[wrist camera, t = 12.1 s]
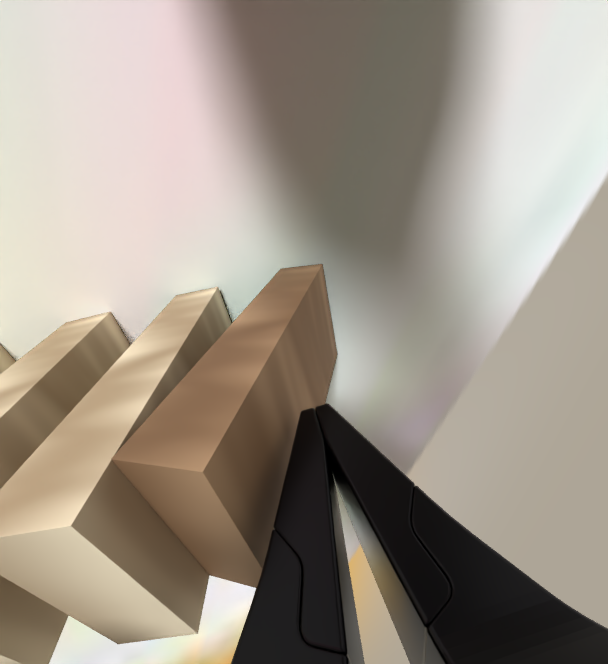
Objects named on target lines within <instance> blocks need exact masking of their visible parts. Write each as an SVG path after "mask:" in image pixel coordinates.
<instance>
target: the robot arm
mask: <svg viewBox="0 0 608 664" xmlns="http://www.w3.org/2000/svg"><path fill="white" fill-rule="evenodd" d="M333 476H334V477H333ZM334 479H335V481H334ZM335 483H336V485H337V488H338V490H339V493H340V495H341V498H342V500H343V503H344V505H345V507H346V510H347V512H348V515H349V517H350V519H351V522H352V524H353V527H354V529H355V532H356V534H357V536H358V539H359V541H360V544H361V546H362V548H363V551H364V553H365V555H366V558H367V561H368V563H369V565H370V568H371V570H372V573H373V575H374V577H375V580H376V582H377V585H378V587H379V589H380V592H381V594H382V597H383V599H384V602H385V604H386V606H387V609H388V611H389V614H390V616H391V618H392V621H393V623H394V625H395V628H396V630H397V633H398V635H399V638H400V640H401V643H402V645H403V647H404V650H405V652H406V655H407V657H408V660H409V662H410V664H608V629H607V628H605V627H604V626H602V625H600V624H598V623H596V622H595V621H593V620H591V619H589V618H587V617H586V616H584V615H582V614H581V613H579V612H578V611H576V610H574V609H572V608H571V607H570V606H568V605H566V604H565V603H563V602H562V601H561V600H559V599H558V598H556V597H555V596H554V595H552V594H551V593H550V592H548V591H547V590H546V589H544V588H543V587H542V586H540V585H539V584H538V583H536V582H535V581H534V580H532V579H531V578H530V577H529V576H527V575H526V574H525V573H523V572H522V571H521V570H519V569H518V568H517V567H515V566H514V565H513V564H511V563H510V562H509V561H508V560H506V559H505V558H504V557H502V556H501V555H500V554H498V553H497V552H496V551H495V550H493V549H491V547H489V546H488V545H487V544H485V543H484V542H483V541H481V540H480V539H479V538H478V537H476V536H475V535H474V534H472V533H471V532H470V531H469V530H467V529H466V528H465V527H464V526H462V525H461V524H460V523H459V522H457V521H456V520H455V519H454V518H452V517H451V516H450V515H449V514H448V513H446V512H445V511H444V510H443V509H442V508H441V507H440V506H439V505H437V504H436V503H435V502H434V501H433V500H431V498H429V497H428V496H427V495H426V494H425V493H424V492H423V491H422V490H421V489H420V488H419V487H418V486H415V485H414V483H413V482H412V481H411V480H410V479H409V478H408V477H407V476H406V475H405V474H404V473H402V472H401V471H400V470H399V469H398V468H397V467H396V466H395V465H394V464H393V463H392V462H391V461H390V460H388V459H387V458H386V457H385V456H384V455H383V454H382V453H381V452H380V451H379V450H378V449H377V448H376V447H374V446H373V445H372V444H371V443H370V442H369V441H368V440H367V439H366V438H365V437H364V436H363V435H362V434H361V433H359V432H358V431H357V430H356V429H355V428H354V427H353V426H352V425H351V424H350V423H349V422H348V421H347V420H345V419H344V418H343V417H342V416H341V415H340V414H339V413H338V412H337V411H336V410H335V409H334V408H333V407H331V406H330V405H329V404H323V405H320V406H316V407H315V409H314V408H309V409H306V410H302V411H301V413H300V416H299V421H298V425H297V429H296V433H295V437H294V442H293V446H292V450H291V454H290V458H289V463H288V467H287V471H286V475H285V479H284V483H283V488H282V492H281V496H280V500H279V504H278V509H277V513H276V517H275V521H274V525H273V528H274V530H272V533H271V537H270V541H269V545H268V550H267V553H266V557H265V561H264V564H263V568H262V572H261V576H260V579H259V582H258V585H257V588H256V591H255V595H254V598H253V601H252V604H251V607H250V610H249V613H248V616H247V619H246V622H245V625H244V627H243V630H242V633H241V636H240V639H239V642H238V645H237V648H236V651H235V654H234V656H233V659H232V662H231V664H365V663H364V657H363V651H362V645H361V639H360V634H359V626H358V620H357V614H356V608H355V602H354V596H353V590H352V584H351V577H350V572H349V565H348V559H347V553H346V547H345V541H344V534H343V528H342V522H341V516H340V510H339V504H338V498H337V492H336V486H335Z"/></svg>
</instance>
